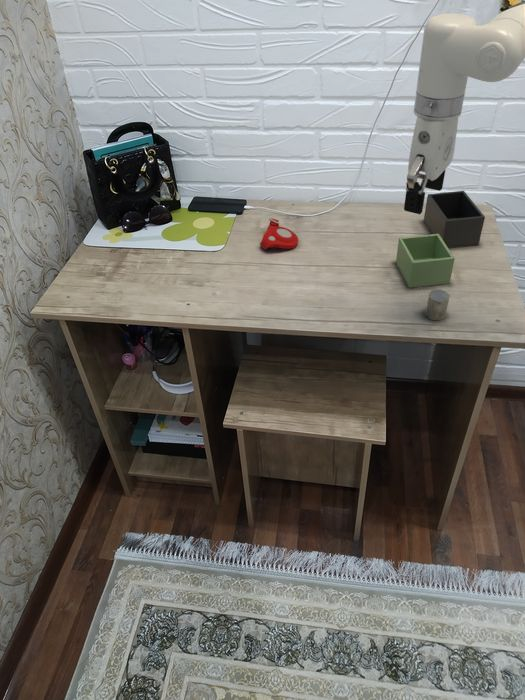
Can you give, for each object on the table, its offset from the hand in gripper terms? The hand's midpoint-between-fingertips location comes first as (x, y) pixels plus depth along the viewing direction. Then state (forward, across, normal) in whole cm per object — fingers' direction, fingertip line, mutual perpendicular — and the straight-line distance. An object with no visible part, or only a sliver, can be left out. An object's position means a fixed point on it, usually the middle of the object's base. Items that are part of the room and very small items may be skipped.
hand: (423, 199), depth 103 cm
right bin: (+25, +33, +2) cm, 42 cm away
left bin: (+25, +14, +2) cm, 29 cm away
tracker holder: (+26, +10, +38) cm, 47 cm away
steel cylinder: (+25, +1, -6) cm, 26 cm away
